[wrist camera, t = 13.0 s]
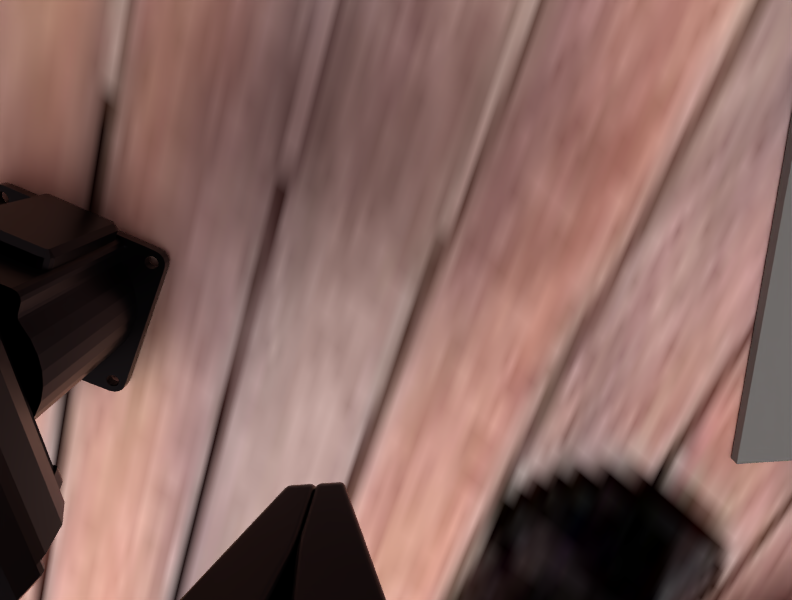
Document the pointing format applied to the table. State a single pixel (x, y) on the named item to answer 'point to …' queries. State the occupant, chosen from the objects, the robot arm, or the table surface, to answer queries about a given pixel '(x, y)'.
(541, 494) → the table surface
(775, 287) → the mat
